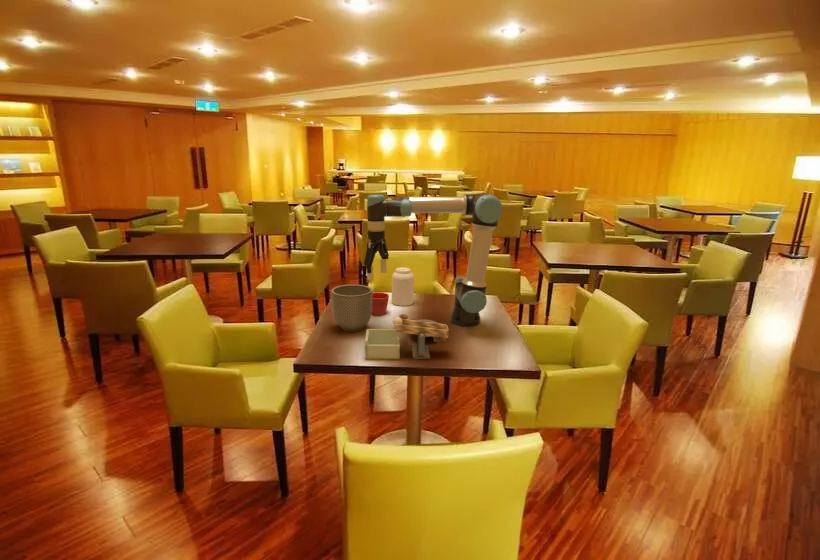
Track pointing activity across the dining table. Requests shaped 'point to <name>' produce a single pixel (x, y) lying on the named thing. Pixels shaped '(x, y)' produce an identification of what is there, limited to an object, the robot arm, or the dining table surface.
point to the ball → (397, 321)
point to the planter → (352, 306)
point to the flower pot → (379, 303)
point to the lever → (423, 328)
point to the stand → (420, 348)
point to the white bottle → (402, 287)
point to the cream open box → (382, 344)
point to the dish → (427, 321)
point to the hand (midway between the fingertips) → (377, 276)
